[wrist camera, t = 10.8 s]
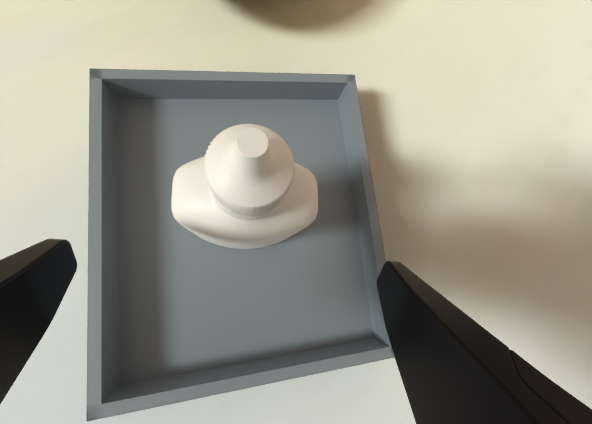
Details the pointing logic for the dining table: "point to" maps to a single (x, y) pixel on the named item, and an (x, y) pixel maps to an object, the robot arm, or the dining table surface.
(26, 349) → the robot arm
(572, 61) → the dining table surface
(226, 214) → the eye dropper bottle
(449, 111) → the dining table surface
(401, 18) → the dining table surface
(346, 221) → the slate tray
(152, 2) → the dining table surface
